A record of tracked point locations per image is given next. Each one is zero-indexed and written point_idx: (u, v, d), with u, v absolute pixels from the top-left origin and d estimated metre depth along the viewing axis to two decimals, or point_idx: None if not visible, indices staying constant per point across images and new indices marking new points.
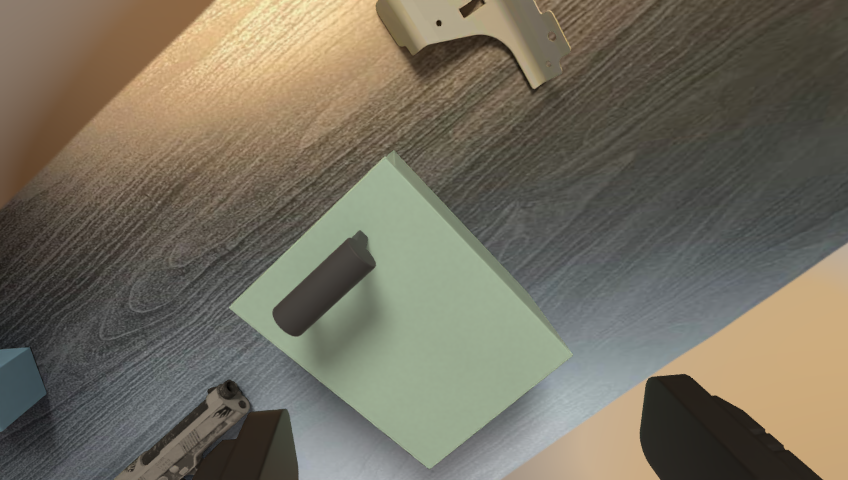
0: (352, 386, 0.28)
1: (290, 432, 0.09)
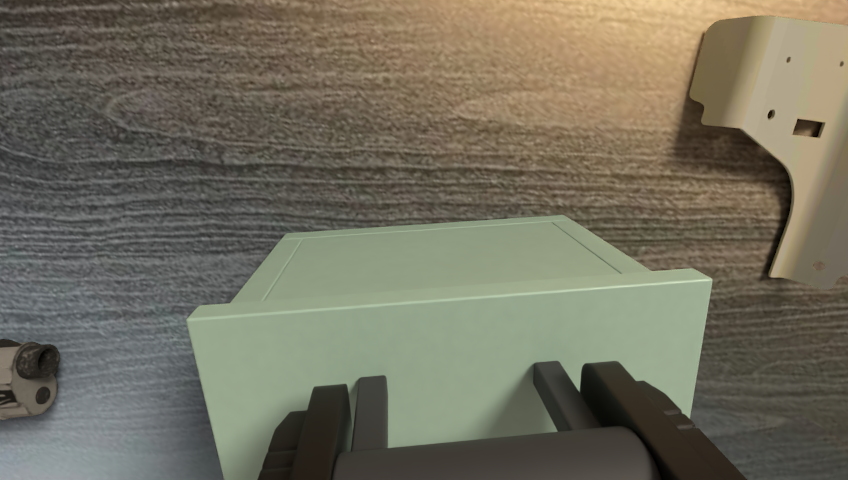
0: None
1: (349, 406, 0.10)
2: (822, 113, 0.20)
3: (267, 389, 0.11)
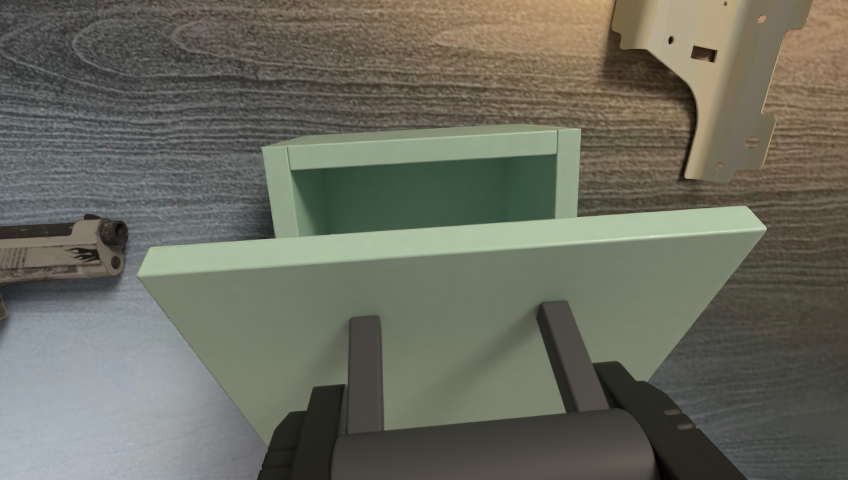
0: None
1: None
2: (714, 42, 0.26)
3: (249, 328, 0.10)
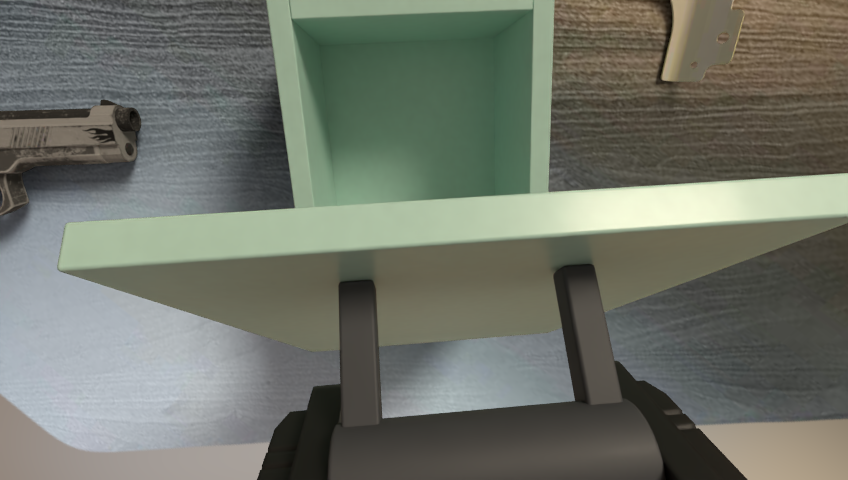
0: (292, 332, 0.15)
1: None
2: None
3: (221, 291, 0.09)
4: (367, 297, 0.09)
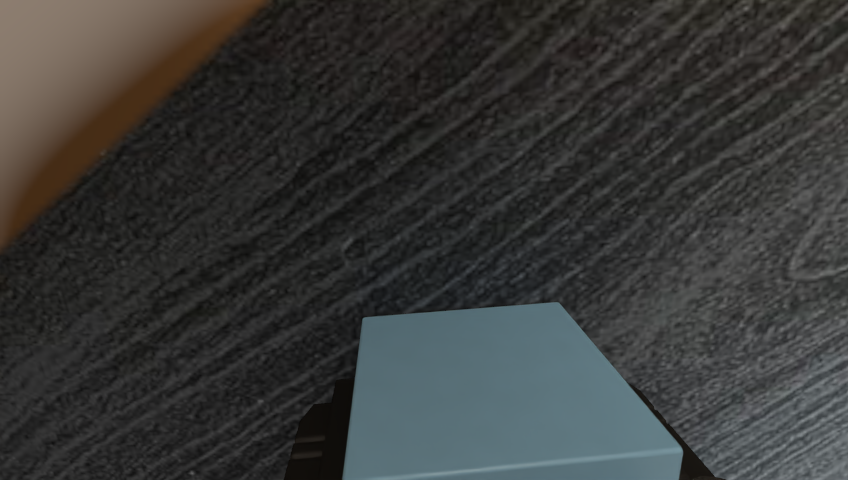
0: None
1: None
2: None
3: None
4: None
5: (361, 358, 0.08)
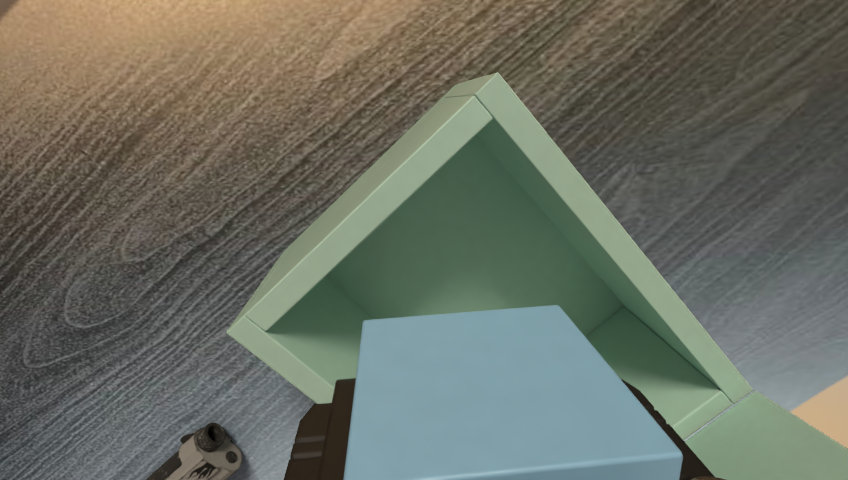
0: None
1: None
2: None
3: None
4: None
5: (361, 361, 0.08)
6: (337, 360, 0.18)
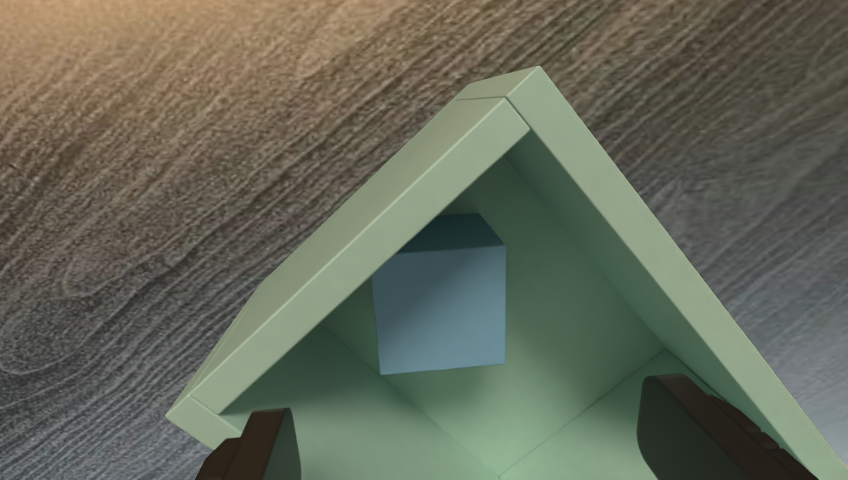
0: None
1: (293, 430, 0.09)
2: None
3: None
4: None
5: None
6: (318, 437, 0.14)
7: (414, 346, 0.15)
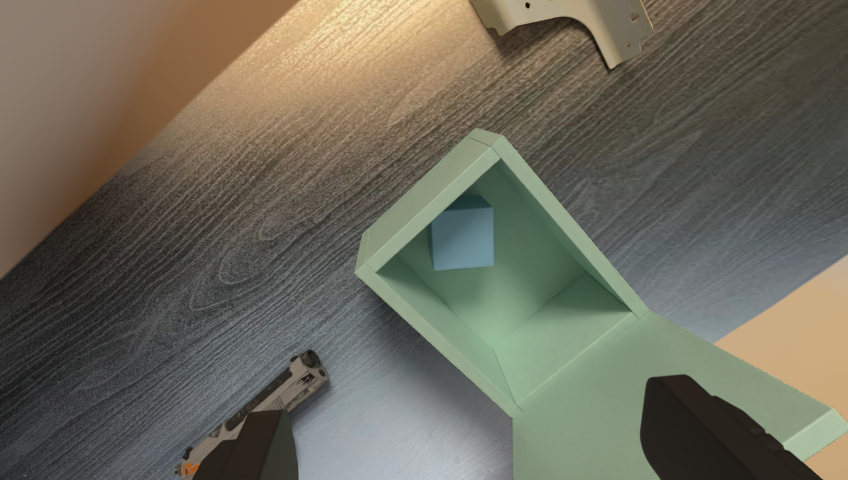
0: None
1: (290, 432, 0.09)
2: None
3: None
4: None
5: None
6: (408, 294, 0.31)
7: (450, 256, 0.32)
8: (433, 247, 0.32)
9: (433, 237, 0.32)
